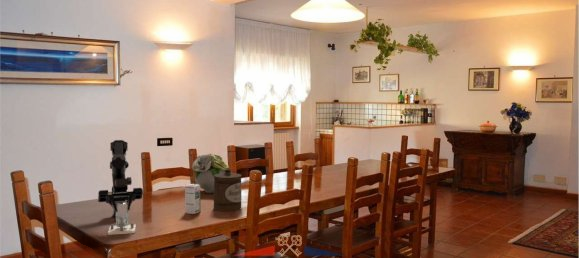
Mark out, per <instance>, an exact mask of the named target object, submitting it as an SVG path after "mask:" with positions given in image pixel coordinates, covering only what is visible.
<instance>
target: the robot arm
mask: <svg viewBox="0 0 579 258" xmlns="http://www.w3.org/2000/svg"><path fill="white" fill-rule="evenodd" d="M128 150H129V148H128V141H125V140H123V139H115V140H113V141H111V142H110V149H109V151H110V152H111V161H109V169H110V170H111V178H112V186H111V191H109V189H102V190H101V189H100V190H98V194H97V200H98V201H97V202H99V203H106V204H109V206H110V207H111V208H112V210H113V211H112V212H113V213H112V218H116V203H118V202H128V212H130V209H131V206H132V203H133V202H135V200H141V199H142V198H143V194H144V190H143V188H142V187H133V188H132V191H129V190H128V189H129V187H128V186H131V185H132V176H129V177H126V171H127V169H128V168H129V162H128V161H127V160H126V159H127V158H126V156H127V151H128Z"/></svg>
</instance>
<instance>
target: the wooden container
mask: <svg viewBox="0 0 579 258" xmlns="http://www.w3.org/2000/svg"><path fill="white" fill-rule="evenodd" d="M231 170H232V169H231V168H230V167H228V168H226V169H225V171H226V172H225V173H220V174H216V175H214V193H213V209H214V210H215V211H218V210H219V212H235V211H238V209H239V210H240V208H241V209H242V174H240V173H234V172H233V173H232V171H231ZM234 210H235V211H234Z"/></svg>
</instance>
